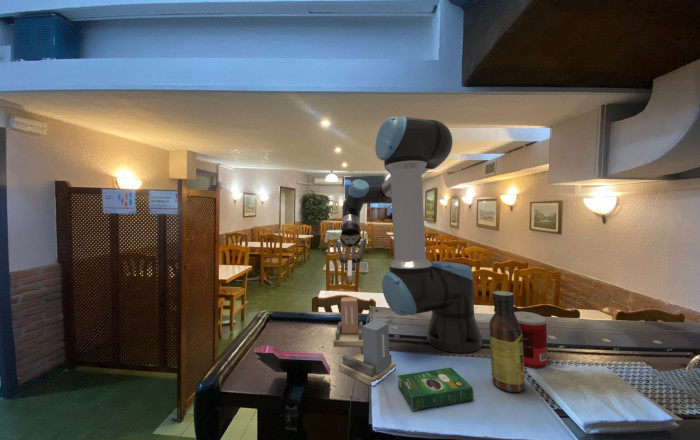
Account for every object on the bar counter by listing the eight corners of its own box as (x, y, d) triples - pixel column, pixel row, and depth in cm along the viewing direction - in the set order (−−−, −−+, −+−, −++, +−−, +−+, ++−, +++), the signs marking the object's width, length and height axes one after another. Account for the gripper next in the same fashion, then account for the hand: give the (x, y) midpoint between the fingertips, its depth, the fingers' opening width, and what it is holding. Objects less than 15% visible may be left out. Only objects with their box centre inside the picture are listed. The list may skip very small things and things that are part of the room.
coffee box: (451, 378, 62) (397, 387, 60) (450, 365, 62) (396, 374, 60) (474, 401, 54) (412, 412, 52) (473, 386, 54) (412, 397, 52)
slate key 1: (363, 368, 64) (362, 326, 64) (376, 359, 68) (375, 319, 68) (378, 374, 62) (376, 330, 62) (390, 365, 65) (389, 323, 65)
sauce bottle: (530, 395, 55) (526, 297, 55) (497, 392, 56) (493, 297, 56) (517, 376, 62) (514, 289, 62) (487, 374, 63) (484, 289, 63)
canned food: (543, 355, 70) (542, 313, 70) (551, 371, 63) (549, 324, 63) (509, 350, 74) (508, 309, 74) (513, 365, 66) (511, 320, 66)
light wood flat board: (362, 327, 93) (361, 317, 93) (404, 380, 62) (404, 364, 62) (323, 333, 89) (323, 323, 89) (348, 392, 59) (348, 376, 59)
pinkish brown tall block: (343, 328, 89) (341, 297, 89) (358, 328, 88) (357, 297, 88) (341, 333, 84) (340, 301, 84) (357, 333, 84) (356, 301, 84)
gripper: (366, 233, 114) (368, 283, 97) (335, 234, 115) (332, 283, 98) (366, 221, 108) (368, 271, 92) (333, 222, 109) (330, 272, 93)
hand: (349, 277), depth 95 cm, fingers closed
